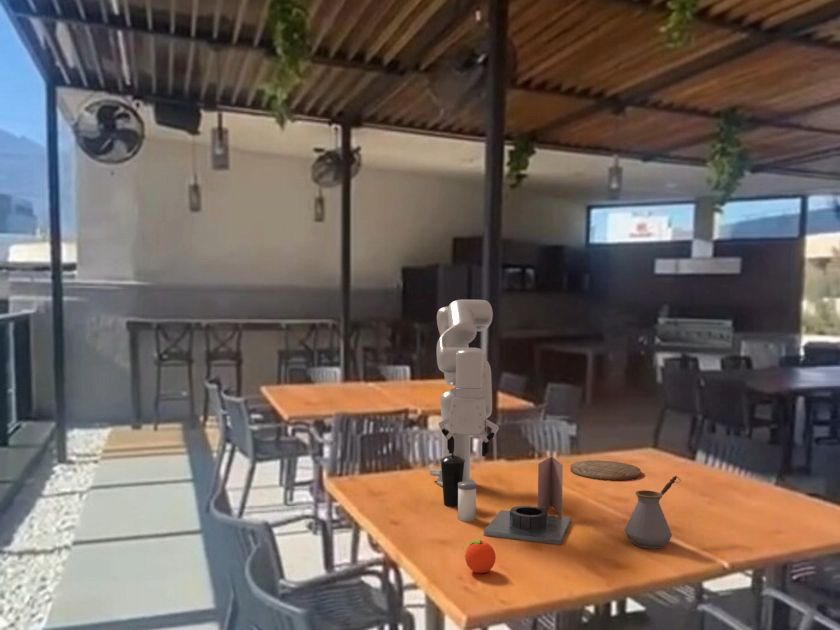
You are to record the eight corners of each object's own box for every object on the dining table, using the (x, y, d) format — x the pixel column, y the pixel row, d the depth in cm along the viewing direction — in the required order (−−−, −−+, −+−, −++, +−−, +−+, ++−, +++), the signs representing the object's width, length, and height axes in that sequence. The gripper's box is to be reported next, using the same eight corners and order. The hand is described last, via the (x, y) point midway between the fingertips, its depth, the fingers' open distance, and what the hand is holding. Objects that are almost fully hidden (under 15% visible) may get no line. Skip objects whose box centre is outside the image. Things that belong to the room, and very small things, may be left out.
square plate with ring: (483, 535, 184) (483, 517, 184) (500, 514, 203) (501, 497, 203) (560, 544, 178) (560, 526, 178) (570, 522, 196) (571, 505, 196)
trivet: (629, 485, 239) (629, 479, 239) (560, 475, 253) (560, 469, 253) (649, 471, 260) (649, 466, 260) (584, 462, 274) (584, 457, 274)
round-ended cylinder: (455, 520, 197) (455, 484, 197) (460, 515, 202) (460, 480, 201) (473, 522, 195) (473, 486, 195) (478, 517, 200) (478, 482, 200)
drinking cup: (468, 502, 214) (469, 437, 214) (459, 509, 207) (460, 442, 207) (445, 499, 217) (446, 435, 217) (435, 506, 210) (436, 439, 210)
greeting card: (548, 505, 213) (548, 456, 213) (572, 509, 209) (572, 459, 209) (534, 514, 203) (535, 463, 203) (559, 519, 199) (560, 466, 199)
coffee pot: (657, 554, 172) (658, 493, 171) (615, 542, 180) (616, 484, 180) (696, 535, 186) (698, 479, 186) (656, 525, 195) (657, 471, 194)
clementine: (456, 574, 157) (456, 543, 157) (465, 564, 164) (465, 533, 164) (490, 580, 154) (491, 547, 154) (498, 569, 161) (499, 538, 161)
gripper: (435, 393, 197) (434, 454, 197) (495, 396, 191) (494, 459, 192) (443, 390, 204) (442, 449, 204) (501, 393, 198) (500, 454, 199)
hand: (467, 454), depth 198 cm, fingers open, 9 cm apart
